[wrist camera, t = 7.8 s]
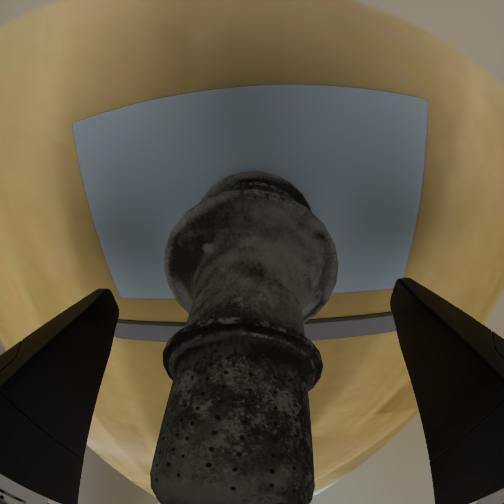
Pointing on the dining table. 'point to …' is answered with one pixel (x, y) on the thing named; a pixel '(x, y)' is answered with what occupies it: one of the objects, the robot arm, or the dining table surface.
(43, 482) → the robot arm
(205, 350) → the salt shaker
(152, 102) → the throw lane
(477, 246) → the dining table surface
